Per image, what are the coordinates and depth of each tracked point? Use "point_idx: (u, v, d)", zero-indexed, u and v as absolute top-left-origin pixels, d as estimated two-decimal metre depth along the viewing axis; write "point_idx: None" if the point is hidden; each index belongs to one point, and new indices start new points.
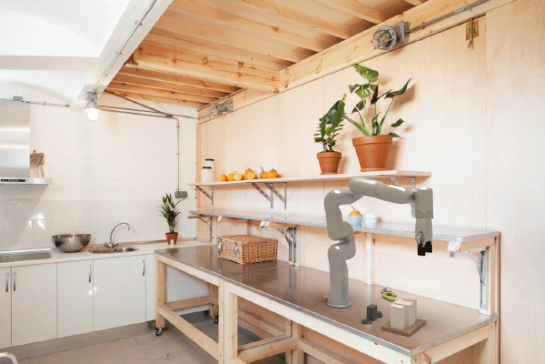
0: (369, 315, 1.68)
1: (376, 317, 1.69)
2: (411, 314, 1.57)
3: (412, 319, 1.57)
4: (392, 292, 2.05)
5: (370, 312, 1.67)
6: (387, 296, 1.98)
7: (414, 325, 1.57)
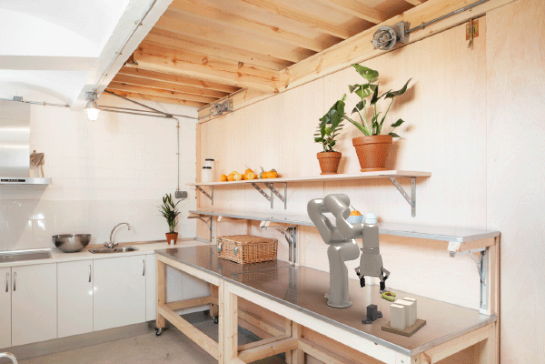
0: (369, 315, 1.68)
1: (376, 317, 1.69)
2: (411, 314, 1.57)
3: (412, 319, 1.57)
4: (391, 292, 2.05)
5: (370, 312, 1.67)
6: (387, 296, 1.98)
7: (414, 325, 1.57)
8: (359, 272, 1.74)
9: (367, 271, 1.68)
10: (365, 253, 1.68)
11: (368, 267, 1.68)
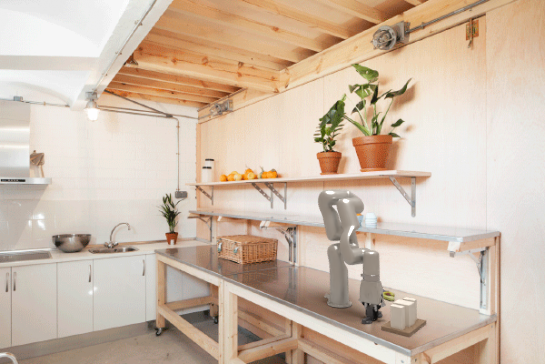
0: (369, 315, 1.68)
1: None
2: (411, 314, 1.57)
3: (412, 319, 1.57)
4: (390, 292, 2.05)
5: (370, 311, 1.68)
6: (386, 296, 1.99)
7: (414, 325, 1.57)
8: (365, 302, 1.72)
9: (367, 298, 1.68)
10: (365, 280, 1.68)
11: (368, 294, 1.68)
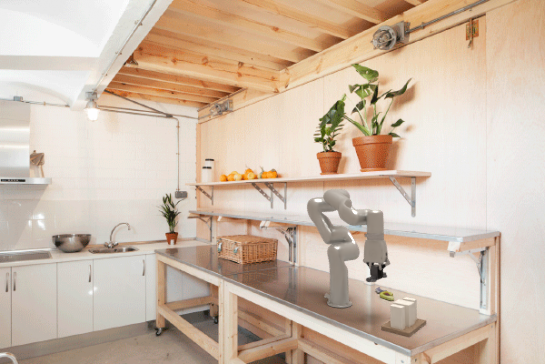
0: (373, 274, 1.66)
1: None
2: (411, 314, 1.57)
3: (412, 319, 1.57)
4: None
5: (374, 271, 1.66)
6: (386, 296, 1.99)
7: (414, 325, 1.57)
8: None
9: (372, 257, 1.67)
10: (369, 239, 1.67)
11: (372, 253, 1.66)
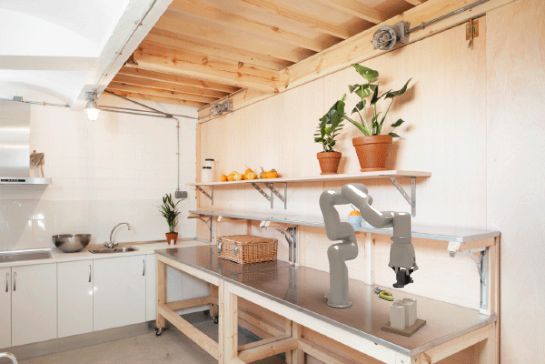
0: (400, 279, 1.58)
1: None
2: (411, 314, 1.57)
3: (412, 319, 1.57)
4: None
5: (401, 276, 1.58)
6: (385, 296, 1.99)
7: (414, 325, 1.57)
8: None
9: (398, 262, 1.58)
10: (396, 243, 1.58)
11: (399, 257, 1.58)
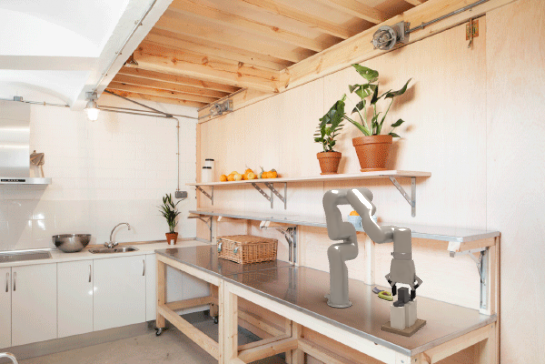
0: (400, 298, 1.58)
1: (407, 300, 1.60)
2: (411, 314, 1.57)
3: (412, 319, 1.57)
4: None
5: (401, 294, 1.58)
6: (385, 296, 1.99)
7: (414, 325, 1.57)
8: (390, 279, 1.64)
9: (399, 278, 1.58)
10: (397, 258, 1.58)
11: (399, 273, 1.58)
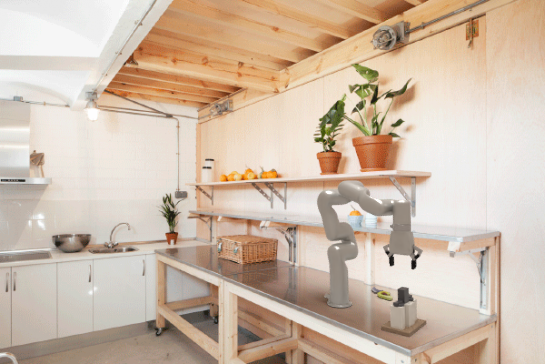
0: (400, 298, 1.58)
1: (407, 300, 1.60)
2: (411, 314, 1.57)
3: (412, 319, 1.57)
4: None
5: (401, 294, 1.58)
6: (384, 295, 1.99)
7: (414, 325, 1.57)
8: (388, 250, 1.66)
9: (398, 249, 1.59)
10: (396, 230, 1.59)
11: (398, 244, 1.59)
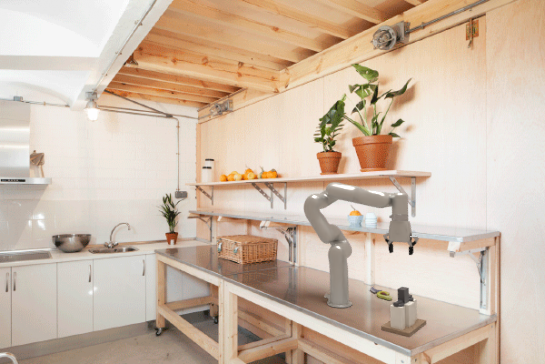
0: (400, 298, 1.58)
1: (407, 300, 1.60)
2: (411, 314, 1.57)
3: (412, 319, 1.57)
4: (385, 291, 2.07)
5: (401, 294, 1.58)
6: (384, 295, 1.99)
7: (414, 325, 1.57)
8: (387, 239, 1.83)
9: (396, 237, 1.76)
10: (395, 220, 1.76)
11: (397, 233, 1.76)
